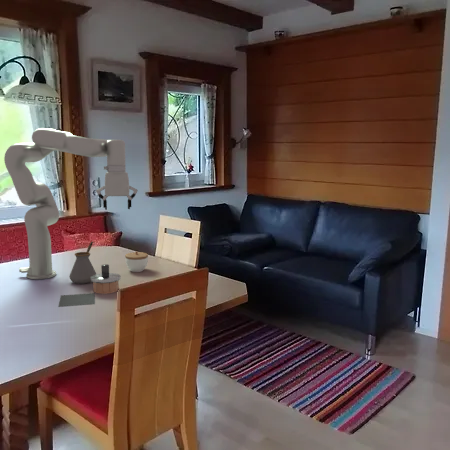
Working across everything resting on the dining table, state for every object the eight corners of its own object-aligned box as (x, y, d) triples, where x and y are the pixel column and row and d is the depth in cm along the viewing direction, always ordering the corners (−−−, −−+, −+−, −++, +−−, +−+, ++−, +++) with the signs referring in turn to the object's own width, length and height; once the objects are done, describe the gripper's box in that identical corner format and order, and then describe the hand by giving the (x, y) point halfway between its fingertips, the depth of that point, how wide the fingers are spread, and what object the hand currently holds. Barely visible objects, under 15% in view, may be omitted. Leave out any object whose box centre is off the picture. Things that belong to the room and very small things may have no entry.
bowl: (93, 295, 182) (93, 283, 181) (93, 287, 191) (93, 276, 190) (119, 293, 185) (118, 281, 184) (117, 286, 194) (117, 274, 193)
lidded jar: (150, 267, 223) (150, 249, 222) (144, 273, 213) (144, 254, 211) (129, 266, 224) (129, 248, 223) (122, 272, 214) (122, 253, 212)
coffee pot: (92, 286, 193) (91, 252, 191) (65, 285, 193) (64, 251, 191) (105, 272, 214) (104, 241, 212) (81, 271, 214) (80, 240, 212)
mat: (58, 307, 168) (58, 306, 168) (60, 296, 180) (60, 295, 180) (94, 304, 171) (94, 303, 171) (94, 293, 183) (94, 293, 183)
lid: (90, 284, 180) (89, 270, 179) (90, 275, 191) (90, 262, 190) (121, 282, 183) (120, 268, 182) (119, 274, 194) (119, 260, 193)
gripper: (95, 169, 186) (96, 210, 189) (137, 169, 191) (138, 209, 194) (95, 168, 193) (96, 208, 196) (136, 168, 198) (137, 207, 201)
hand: (117, 209), depth 195 cm, fingers open, 9 cm apart
